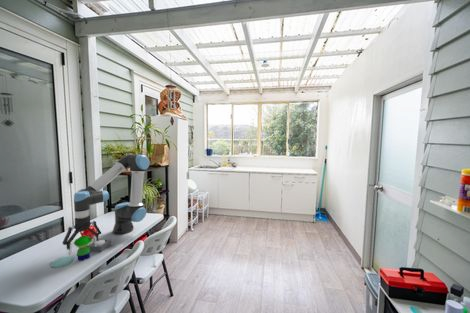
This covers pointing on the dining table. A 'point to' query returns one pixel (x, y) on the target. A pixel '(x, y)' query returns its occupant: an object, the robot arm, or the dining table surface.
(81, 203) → the robot arm
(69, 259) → the pad
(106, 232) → the dining table surface
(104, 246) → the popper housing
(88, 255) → the toy
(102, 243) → the dome
